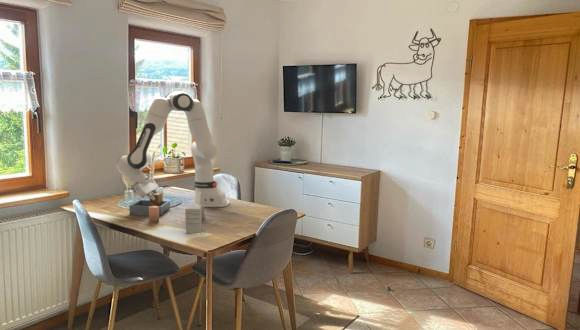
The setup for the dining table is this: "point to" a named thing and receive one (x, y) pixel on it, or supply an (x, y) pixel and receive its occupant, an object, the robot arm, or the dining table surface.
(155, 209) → the ball
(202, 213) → the round bodied animal figurine
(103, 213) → the dining table surface
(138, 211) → the box
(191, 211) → the supplement box
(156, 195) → the walnut block
